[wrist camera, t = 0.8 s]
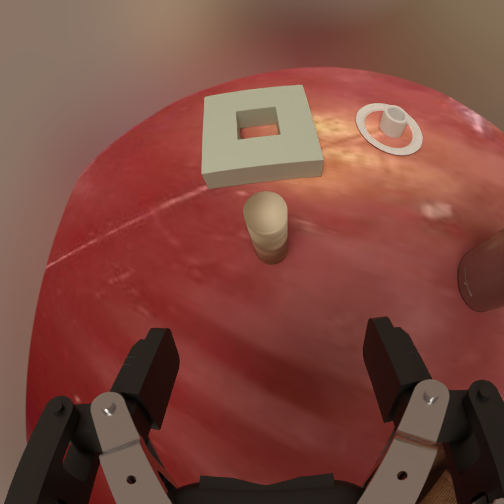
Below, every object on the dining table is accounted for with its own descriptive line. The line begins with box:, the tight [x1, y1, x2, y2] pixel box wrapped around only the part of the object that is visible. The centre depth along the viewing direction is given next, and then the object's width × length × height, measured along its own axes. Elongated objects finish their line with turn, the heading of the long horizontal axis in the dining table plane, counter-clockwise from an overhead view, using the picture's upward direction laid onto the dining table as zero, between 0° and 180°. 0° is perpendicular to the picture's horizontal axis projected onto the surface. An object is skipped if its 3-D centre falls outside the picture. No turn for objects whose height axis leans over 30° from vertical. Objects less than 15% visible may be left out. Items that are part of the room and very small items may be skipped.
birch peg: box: [243, 191, 288, 265], centre depth 31 cm, size 4×4×11 cm
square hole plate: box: [202, 85, 324, 189], centre depth 40 cm, size 16×16×4 cm
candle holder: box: [356, 103, 422, 155], centre depth 39 cm, size 12×12×4 cm
